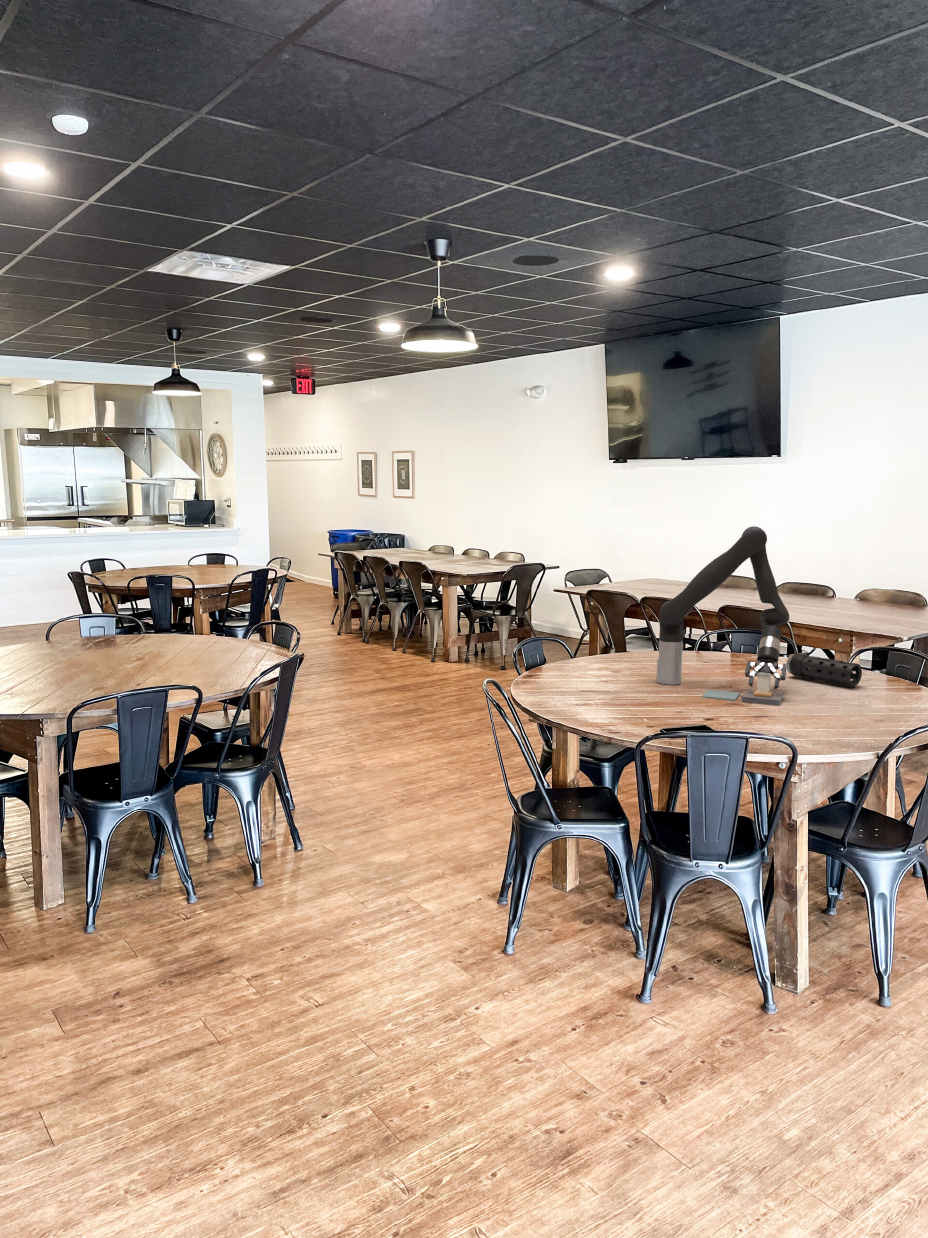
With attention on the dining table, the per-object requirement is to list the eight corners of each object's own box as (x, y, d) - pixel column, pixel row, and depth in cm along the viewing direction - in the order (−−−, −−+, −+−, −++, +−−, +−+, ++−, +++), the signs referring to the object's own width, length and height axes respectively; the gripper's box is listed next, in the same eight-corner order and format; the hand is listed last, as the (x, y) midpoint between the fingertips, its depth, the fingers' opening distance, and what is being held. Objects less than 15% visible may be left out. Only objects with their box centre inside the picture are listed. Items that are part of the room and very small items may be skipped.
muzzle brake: (848, 690, 337) (850, 664, 335) (784, 678, 359) (785, 653, 357) (861, 687, 342) (863, 661, 341) (797, 675, 365) (798, 651, 363)
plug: (753, 701, 320) (754, 674, 318) (755, 697, 325) (756, 671, 324) (770, 702, 317) (771, 675, 316) (772, 699, 322) (773, 672, 321)
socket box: (741, 702, 318) (742, 696, 318) (747, 694, 330) (747, 689, 329) (779, 705, 312) (779, 700, 312) (783, 698, 324) (783, 692, 324)
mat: (701, 697, 325) (702, 696, 325) (708, 691, 336) (708, 689, 336) (735, 700, 320) (735, 699, 320) (740, 694, 330) (740, 692, 330)
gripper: (748, 644, 328) (742, 679, 320) (788, 646, 322) (783, 683, 313) (750, 655, 333) (743, 690, 325) (789, 658, 327) (784, 694, 319)
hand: (763, 687), depth 319 cm, fingers open, 8 cm apart
